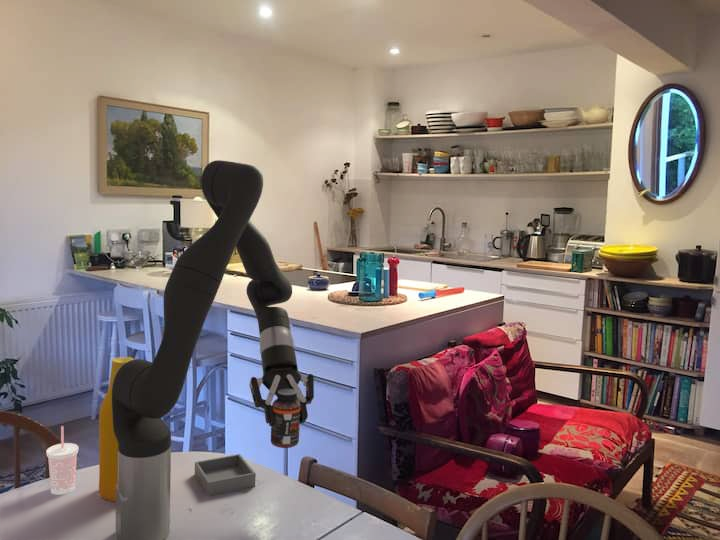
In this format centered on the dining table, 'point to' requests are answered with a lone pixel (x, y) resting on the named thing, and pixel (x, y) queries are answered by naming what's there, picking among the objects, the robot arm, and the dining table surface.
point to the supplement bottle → (286, 419)
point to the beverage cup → (62, 466)
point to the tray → (224, 474)
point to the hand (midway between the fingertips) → (287, 423)
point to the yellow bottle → (109, 439)
